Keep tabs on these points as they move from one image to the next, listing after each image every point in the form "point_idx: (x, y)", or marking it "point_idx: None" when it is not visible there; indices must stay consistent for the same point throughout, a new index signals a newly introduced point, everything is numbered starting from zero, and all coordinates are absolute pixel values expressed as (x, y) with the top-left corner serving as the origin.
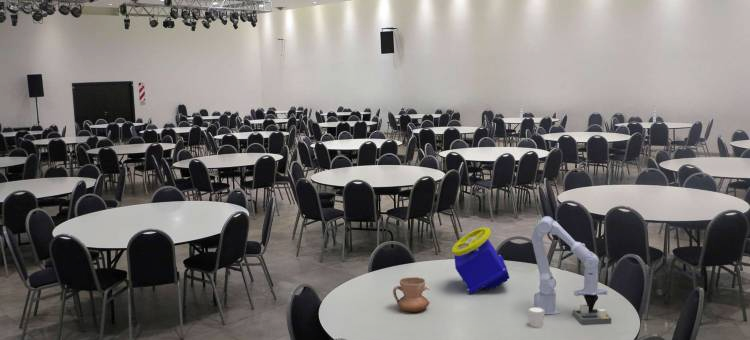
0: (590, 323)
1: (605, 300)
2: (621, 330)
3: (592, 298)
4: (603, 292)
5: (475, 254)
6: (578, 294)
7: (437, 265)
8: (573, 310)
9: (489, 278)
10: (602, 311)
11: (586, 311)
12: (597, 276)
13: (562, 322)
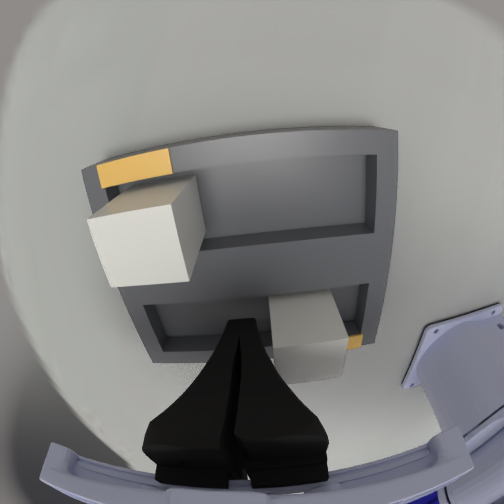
0: (298, 128)
1: (135, 433)
2: (74, 30)
3: (236, 431)
4: (74, 479)
5: None
6: (417, 459)
7: None
8: (370, 338)
9: None
10: (132, 208)
11: (291, 308)
12: None
13: (472, 195)
